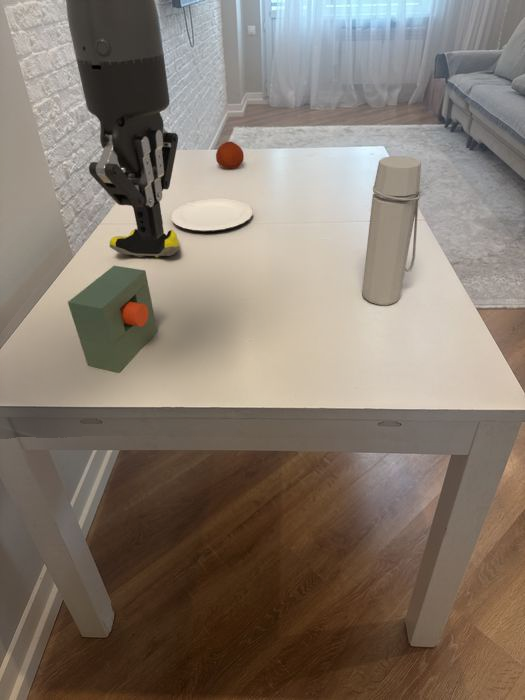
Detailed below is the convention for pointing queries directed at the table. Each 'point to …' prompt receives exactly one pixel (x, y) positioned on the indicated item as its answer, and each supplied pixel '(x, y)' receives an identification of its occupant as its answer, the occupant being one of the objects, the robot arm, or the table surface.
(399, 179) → the water bottle
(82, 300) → the block
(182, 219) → the plate
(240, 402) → the table surface
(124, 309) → the push knob
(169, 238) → the toy running shoe
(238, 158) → the fruit
